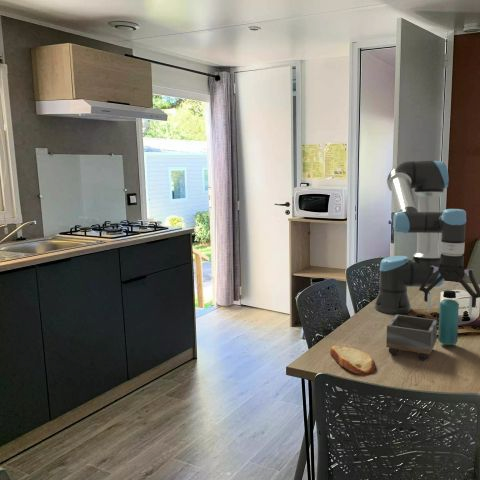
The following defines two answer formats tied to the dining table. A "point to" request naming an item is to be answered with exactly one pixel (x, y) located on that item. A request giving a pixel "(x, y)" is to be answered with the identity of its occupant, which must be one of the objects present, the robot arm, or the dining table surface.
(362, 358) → the bread slice
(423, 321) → the cart
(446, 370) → the dining table surface
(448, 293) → the beverage bottle
